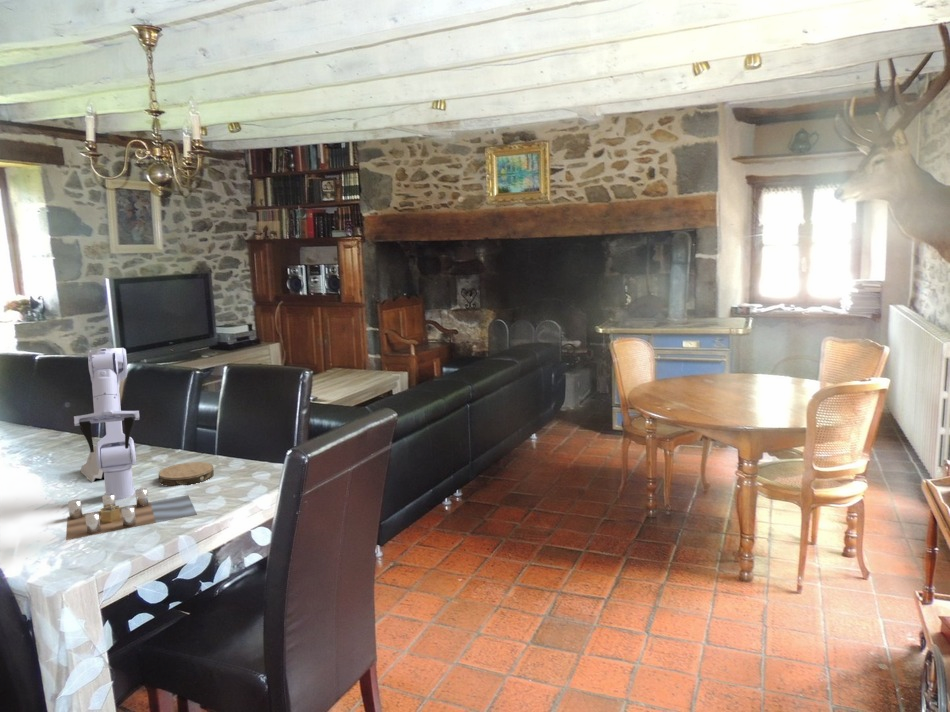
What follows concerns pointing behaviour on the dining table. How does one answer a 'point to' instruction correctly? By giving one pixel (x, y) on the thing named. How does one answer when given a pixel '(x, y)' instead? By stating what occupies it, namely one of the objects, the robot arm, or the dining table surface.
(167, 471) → the brown flat round disc
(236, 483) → the dining table surface
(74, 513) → the steel spacers
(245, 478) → the dining table surface
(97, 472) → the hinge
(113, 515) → the brass nut
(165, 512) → the spacer board
